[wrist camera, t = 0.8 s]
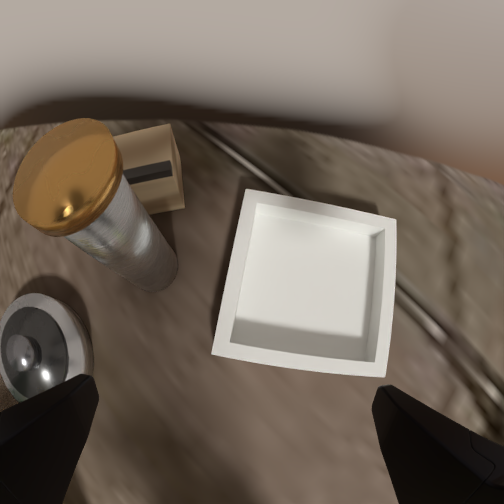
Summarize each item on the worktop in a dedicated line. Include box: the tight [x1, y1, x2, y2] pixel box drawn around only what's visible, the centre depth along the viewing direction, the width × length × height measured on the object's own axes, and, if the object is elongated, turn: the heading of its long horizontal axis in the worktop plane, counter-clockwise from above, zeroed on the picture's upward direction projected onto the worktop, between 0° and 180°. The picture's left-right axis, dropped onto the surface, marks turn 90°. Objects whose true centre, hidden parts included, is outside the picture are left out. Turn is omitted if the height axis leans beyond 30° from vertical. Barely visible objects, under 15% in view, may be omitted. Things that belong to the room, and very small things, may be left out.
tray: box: [211, 189, 396, 377], centre depth 21 cm, size 12×12×2 cm
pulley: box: [0, 293, 94, 403], centre depth 18 cm, size 10×10×4 cm
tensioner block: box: [113, 124, 185, 215], centre depth 22 cm, size 5×6×6 cm
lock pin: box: [13, 118, 178, 292], centre depth 16 cm, size 5×5×14 cm
